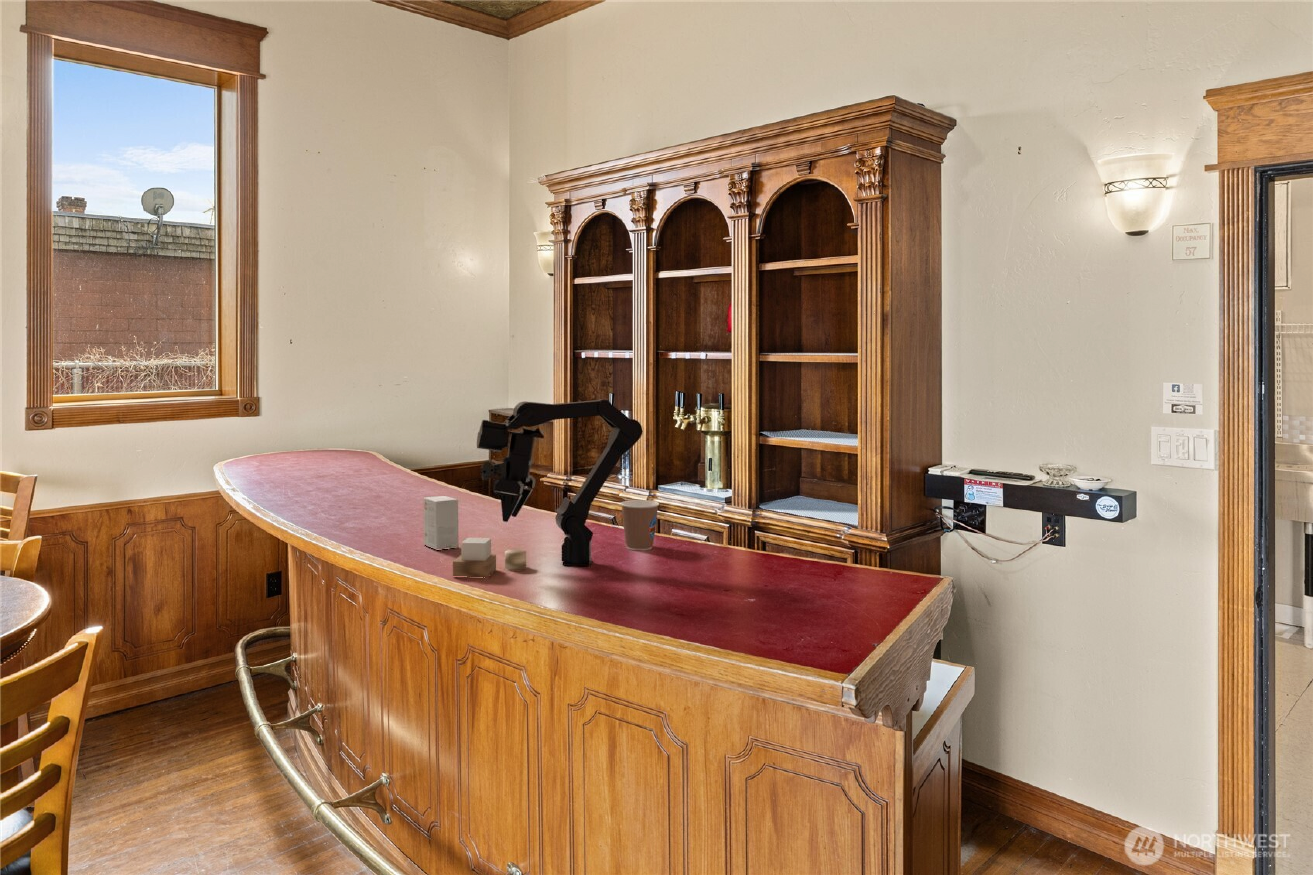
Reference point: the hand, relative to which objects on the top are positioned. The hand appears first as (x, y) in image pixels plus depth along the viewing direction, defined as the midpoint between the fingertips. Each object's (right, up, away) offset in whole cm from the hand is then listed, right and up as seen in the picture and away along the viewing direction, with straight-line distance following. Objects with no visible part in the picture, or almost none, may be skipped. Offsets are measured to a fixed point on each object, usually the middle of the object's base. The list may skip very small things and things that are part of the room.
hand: (509, 519), depth 198 cm
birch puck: (+1, -12, +1) cm, 12 cm away
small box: (-22, -10, +22) cm, 32 cm away
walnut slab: (-7, -12, -5) cm, 15 cm away
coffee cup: (+30, -10, +25) cm, 40 cm away
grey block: (-7, -8, -5) cm, 12 cm away
